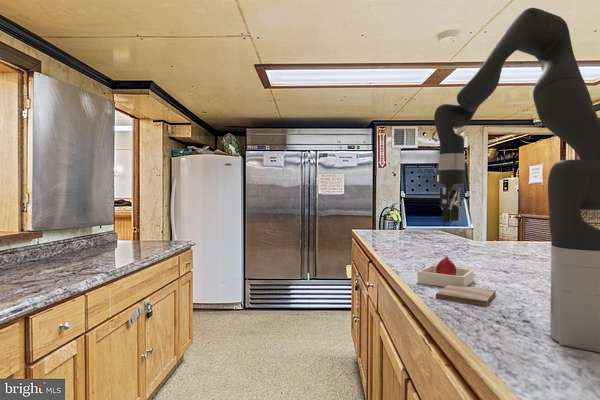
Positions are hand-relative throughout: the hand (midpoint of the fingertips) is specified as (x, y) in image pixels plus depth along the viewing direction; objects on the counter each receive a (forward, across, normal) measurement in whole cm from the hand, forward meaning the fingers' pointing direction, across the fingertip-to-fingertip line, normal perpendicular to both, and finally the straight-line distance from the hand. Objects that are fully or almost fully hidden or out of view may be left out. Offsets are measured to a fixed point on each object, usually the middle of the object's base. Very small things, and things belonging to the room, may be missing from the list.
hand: (450, 221), depth 116 cm
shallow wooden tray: (+19, -1, +1) cm, 19 cm away
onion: (+19, -1, +1) cm, 19 cm away
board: (+19, -15, -9) cm, 26 cm away
